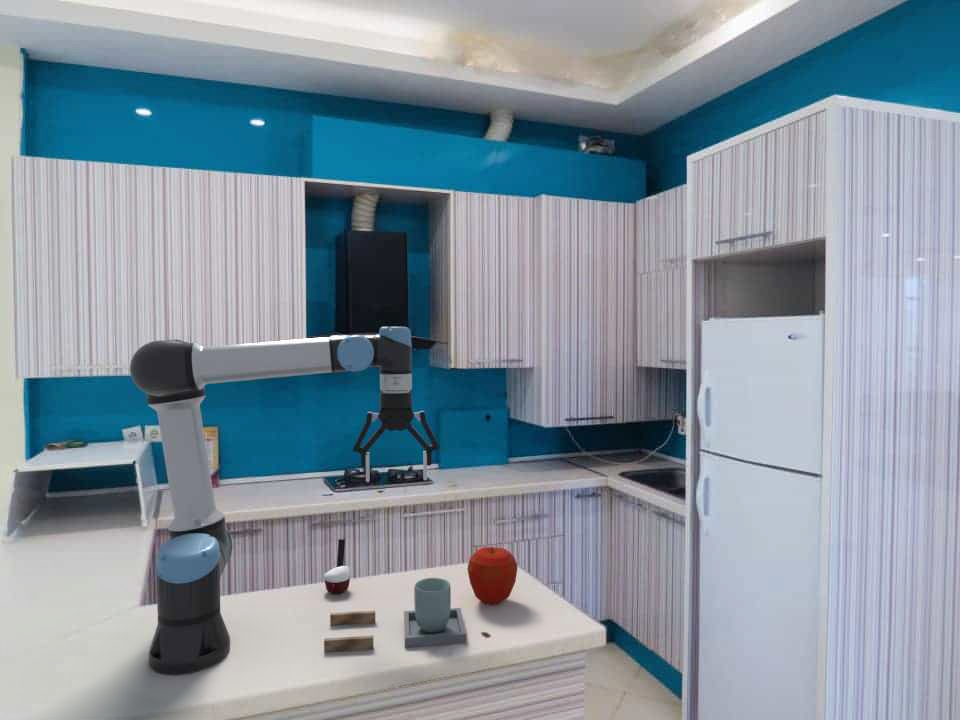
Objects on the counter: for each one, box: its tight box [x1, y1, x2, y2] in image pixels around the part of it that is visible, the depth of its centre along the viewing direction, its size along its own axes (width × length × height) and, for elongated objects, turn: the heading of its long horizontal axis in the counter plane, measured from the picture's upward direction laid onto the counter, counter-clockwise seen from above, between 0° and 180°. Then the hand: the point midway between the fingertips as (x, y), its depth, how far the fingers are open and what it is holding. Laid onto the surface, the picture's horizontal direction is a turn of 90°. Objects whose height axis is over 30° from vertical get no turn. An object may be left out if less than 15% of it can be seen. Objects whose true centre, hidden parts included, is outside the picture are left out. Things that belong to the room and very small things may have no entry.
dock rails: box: [323, 610, 376, 654], centre depth 137 cm, size 10×13×2 cm
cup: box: [413, 577, 452, 633], centre depth 139 cm, size 8×8×10 cm
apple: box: [467, 545, 518, 606], centre depth 154 cm, size 12×12×14 cm
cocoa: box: [323, 538, 351, 596], centre depth 161 cm, size 10×6×12 cm, turn 156°
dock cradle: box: [403, 607, 467, 648], centre depth 140 cm, size 13×13×2 cm
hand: (396, 480), depth 151 cm, fingers open, 13 cm apart
